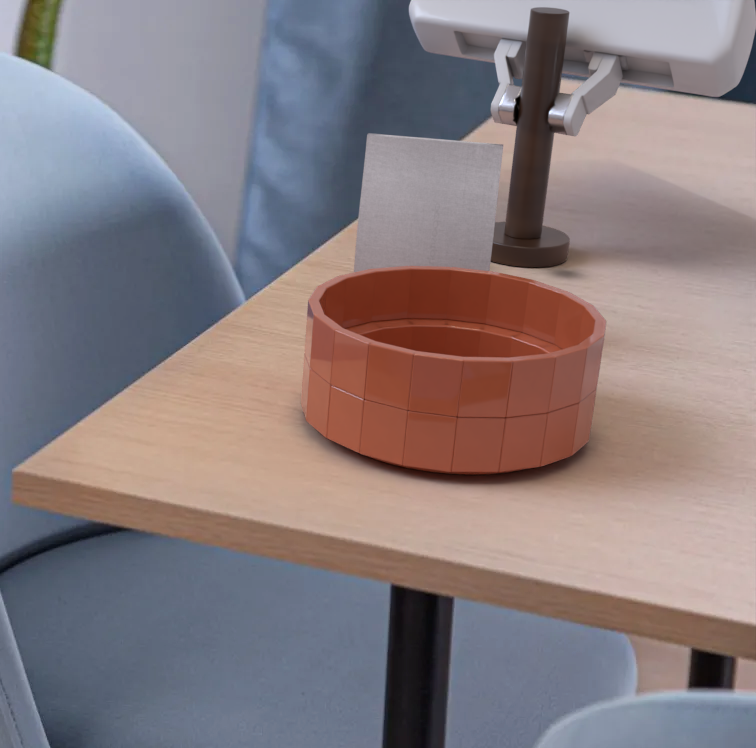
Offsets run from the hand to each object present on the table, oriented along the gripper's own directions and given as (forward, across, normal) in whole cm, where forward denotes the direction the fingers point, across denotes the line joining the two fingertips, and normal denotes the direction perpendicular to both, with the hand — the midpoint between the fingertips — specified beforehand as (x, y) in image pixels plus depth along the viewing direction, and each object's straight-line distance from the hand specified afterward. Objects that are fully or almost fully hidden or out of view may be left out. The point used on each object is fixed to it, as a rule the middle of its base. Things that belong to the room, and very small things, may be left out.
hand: (532, 124), depth 102 cm
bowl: (+25, +8, -14) cm, 30 cm away
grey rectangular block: (+17, +1, -6) cm, 18 cm away
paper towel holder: (+5, 0, +6) cm, 8 cm away
